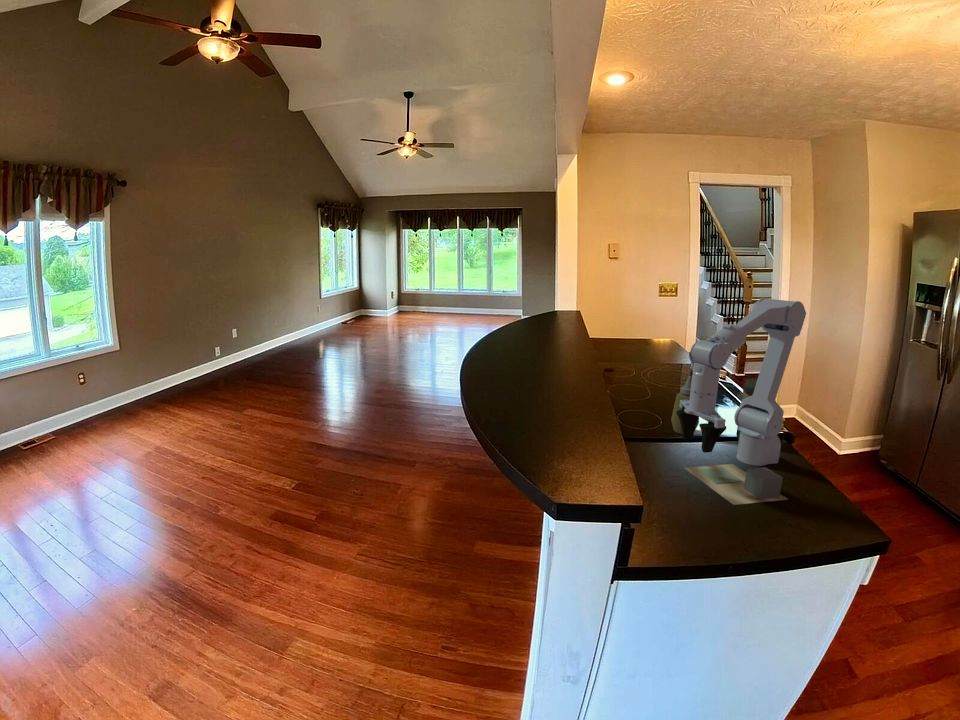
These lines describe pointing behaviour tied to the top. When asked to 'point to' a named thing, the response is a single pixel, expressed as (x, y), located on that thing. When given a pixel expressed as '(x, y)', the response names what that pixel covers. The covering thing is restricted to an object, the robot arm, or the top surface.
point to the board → (728, 483)
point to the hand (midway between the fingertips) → (697, 445)
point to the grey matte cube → (763, 483)
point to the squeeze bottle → (680, 396)
